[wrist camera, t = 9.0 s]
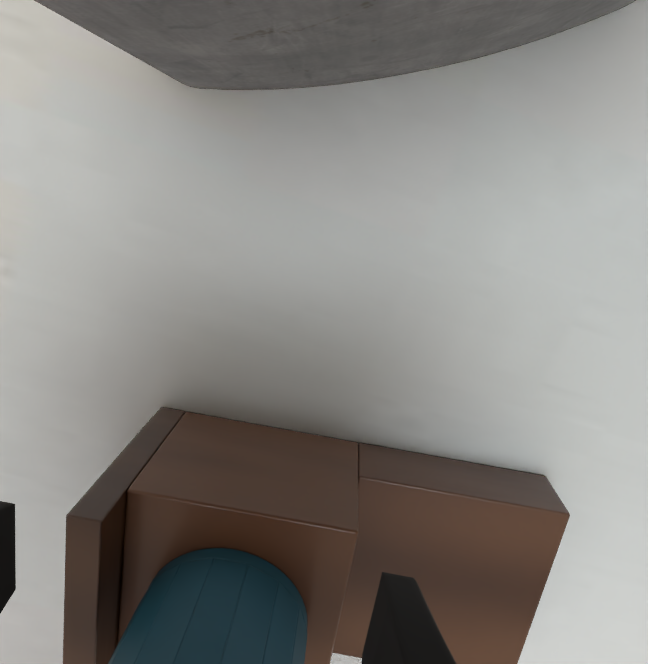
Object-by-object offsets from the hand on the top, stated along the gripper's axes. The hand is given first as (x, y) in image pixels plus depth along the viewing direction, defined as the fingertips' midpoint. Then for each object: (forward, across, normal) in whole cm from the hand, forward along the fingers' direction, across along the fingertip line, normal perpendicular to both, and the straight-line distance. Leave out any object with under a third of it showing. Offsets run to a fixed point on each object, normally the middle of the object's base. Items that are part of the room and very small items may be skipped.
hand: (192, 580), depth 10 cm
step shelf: (+10, -4, +6) cm, 12 cm away
